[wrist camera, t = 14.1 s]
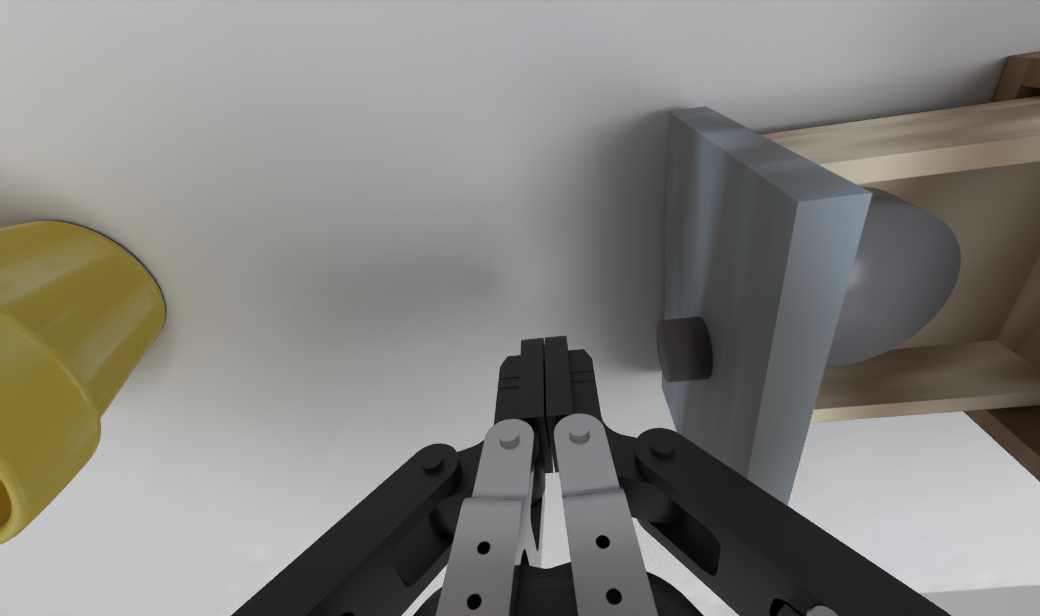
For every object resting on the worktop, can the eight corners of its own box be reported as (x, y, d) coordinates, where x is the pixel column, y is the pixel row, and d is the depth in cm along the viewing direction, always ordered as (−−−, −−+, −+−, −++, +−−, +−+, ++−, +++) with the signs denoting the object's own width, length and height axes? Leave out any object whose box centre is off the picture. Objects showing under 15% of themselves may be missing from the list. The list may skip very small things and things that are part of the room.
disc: (748, 198, 16) (773, 218, 14) (944, 175, 15) (994, 194, 14) (728, 342, 19) (747, 373, 18) (888, 328, 19) (923, 359, 17)
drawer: (1137, 43, 14) (1845, 72, 6) (979, 359, 21) (1238, 557, 13) (633, 117, 16) (726, 211, 8) (636, 389, 22) (688, 582, 15)
